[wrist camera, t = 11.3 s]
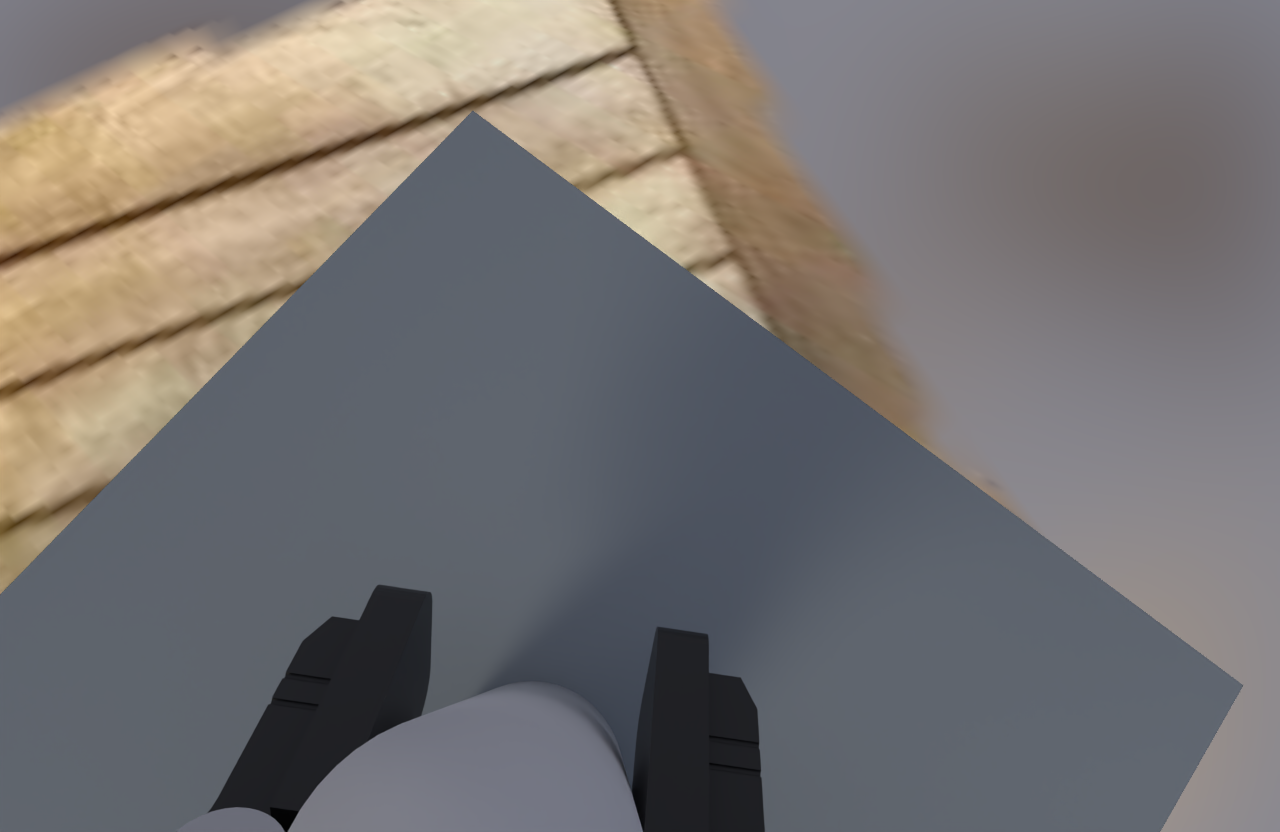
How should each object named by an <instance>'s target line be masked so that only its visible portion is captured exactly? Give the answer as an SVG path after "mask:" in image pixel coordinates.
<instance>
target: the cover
mask: <svg viewBox="0 0 1280 832" xmlns="http://www.w3.org/2000/svg"><path fill="white" fill-rule="evenodd" d="M379 584H380V585H386V586H393V587H400V588H407V589H413V590H420V591H427V592H431V594H432V638H431V669H430V679H429V686H428V691H427V696H426V700H425V704H424V708H423V712H422V715H421V716H420V717H418V718H415V719H412V720H410V721H407V722H404V723H402V724H399V725H397V726H395V727H393V728H391V729H389V730H387V731H385V732H383V733H381V734H379V735H377V736H376V737H374V738H372V739H371V740H369V741H368V742H366V743H365V744H363V745H362V746H360V747H359V748H357V749H356V750H355V751H353V752H352V753H351V754H350V755H349V756H347V757H346V758H345V759H344V760H343V761H341V762H340V763H339V764H338V765H337V766H336V767H335V768H334V769H333V770H332V771H331V772H330V773H329V774H328V775H327V776H326V777H325V778H324V779H323V781H322V782H321V783H320V784H319V785H318V786H317V787H316V789H315V790H314V791H313V793H312V794H311V795H310V797H309V798H308V799H307V801H306V802H305V804H304V805H303V806H302V808H301V809H300V811H299V813H298V815H297V816H296V818H295V820H294V822H293V823H292V825H291V827H290V829H289V830H288V832H643V830H642V827H641V823H640V820H639V816H638V813H637V809H636V805H635V802H634V798H633V795H632V782H633V770H634V758H635V747H636V737H637V729H638V721H639V714H640V708H641V702H642V697H643V692H644V687H645V682H646V677H647V672H648V667H649V661H650V656H651V651H652V646H653V641H654V636H655V632H656V628H657V626H658V627H665V628H671V629H678V630H685V631H692V632H698V633H705V634H708V638H709V673H714V674H721V675H728V676H734V677H741V679H742V681H743V683H744V684H745V686H746V688H747V690H748V692H749V694H750V696H751V698H752V700H753V701H754V703H755V705H756V707H757V710H758V726H759V749H760V759H761V777H762V792H763V808H764V825H765V832H1160V831H1161V829H1162V828H1163V826H1164V824H1165V822H1166V821H1167V819H1168V817H1169V815H1170V814H1171V812H1172V810H1173V808H1174V806H1175V805H1176V803H1177V801H1178V799H1179V798H1180V796H1181V794H1182V792H1183V791H1184V789H1185V787H1186V785H1187V784H1188V782H1189V780H1190V778H1191V777H1192V775H1193V773H1194V771H1195V770H1196V768H1197V766H1198V764H1199V762H1200V760H1201V759H1202V757H1203V755H1204V754H1205V752H1206V750H1207V748H1208V747H1209V745H1210V743H1211V741H1212V740H1213V738H1214V736H1215V734H1216V733H1217V731H1218V729H1219V727H1220V725H1221V724H1222V722H1223V720H1224V718H1225V717H1226V715H1227V713H1228V711H1229V710H1230V708H1231V706H1232V704H1233V703H1234V701H1235V699H1236V697H1237V695H1238V694H1239V692H1240V690H1241V689H1242V687H1243V685H1242V684H1241V683H1239V682H1238V681H1237V680H1235V679H1234V678H1233V677H1231V676H1230V675H1229V674H1227V673H1226V672H1225V671H1223V670H1222V669H1221V668H1219V667H1218V666H1217V665H1215V664H1214V663H1213V662H1211V661H1210V660H1209V659H1207V658H1206V657H1204V656H1203V655H1202V654H1201V653H1199V652H1198V651H1196V650H1195V649H1194V648H1192V647H1191V646H1190V645H1188V644H1187V643H1186V642H1184V641H1183V640H1182V639H1180V638H1179V637H1178V636H1176V635H1175V634H1174V633H1172V632H1171V631H1170V630H1168V629H1167V628H1166V627H1164V626H1163V625H1162V624H1160V623H1159V622H1158V621H1156V620H1155V619H1153V618H1152V617H1151V616H1150V615H1148V614H1147V613H1146V612H1144V611H1143V610H1142V609H1140V608H1139V607H1138V606H1136V605H1135V604H1133V603H1132V602H1131V601H1129V600H1128V599H1127V598H1125V597H1124V596H1123V595H1121V594H1120V593H1119V592H1117V591H1116V590H1115V589H1113V588H1112V587H1111V586H1109V585H1108V584H1107V583H1105V582H1104V581H1103V580H1101V579H1100V578H1098V577H1097V576H1096V575H1095V574H1093V573H1092V572H1091V571H1089V570H1088V569H1086V568H1085V567H1084V566H1083V565H1081V564H1080V563H1078V562H1077V561H1076V560H1074V559H1073V558H1072V557H1070V556H1069V555H1068V554H1066V553H1065V552H1064V551H1062V550H1061V549H1060V548H1058V547H1057V546H1056V545H1054V544H1053V543H1052V542H1050V541H1049V540H1048V539H1046V538H1045V537H1044V536H1042V535H1041V534H1040V533H1038V532H1037V531H1036V530H1034V529H1033V528H1032V527H1030V526H1029V525H1028V524H1026V523H1025V522H1024V521H1022V520H1021V519H1020V518H1018V517H1017V516H1016V515H1014V514H1013V513H1012V512H1010V511H1009V510H1007V509H1006V508H1005V507H1003V506H1002V505H1001V504H999V503H998V502H997V501H995V500H994V499H993V498H991V497H990V496H989V495H987V494H986V493H985V492H983V491H982V490H981V489H979V488H978V487H977V486H975V485H974V484H973V483H971V482H970V481H969V480H967V479H966V478H965V477H963V476H962V475H961V474H959V473H958V472H957V471H955V470H954V469H953V468H951V467H950V466H948V465H947V464H946V463H944V462H943V461H942V460H940V459H939V458H938V457H936V456H935V455H934V454H932V453H931V452H930V451H928V450H927V449H926V448H924V447H923V446H922V445H920V444H919V443H918V442H916V441H915V440H914V439H912V438H911V437H910V436H908V435H907V434H906V433H904V432H903V431H902V430H900V429H899V428H898V427H896V426H895V425H894V424H892V423H891V422H890V421H888V420H887V419H885V418H884V417H883V416H881V415H880V414H879V413H877V412H876V411H875V410H873V409H872V408H871V407H869V406H868V405H867V404H865V403H864V402H863V401H861V400H860V399H859V398H857V397H856V396H855V395H853V394H852V393H851V392H849V391H848V390H847V389H845V388H844V387H843V386H841V385H840V384H839V383H837V382H836V381H835V380H833V379H832V378H831V377H829V376H828V375H827V374H825V373H824V372H822V371H821V370H820V369H818V368H817V367H816V366H814V365H813V364H812V363H810V362H809V361H808V360H806V359H805V358H804V357H802V356H801V355H800V354H798V353H797V352H796V351H794V350H793V349H792V348H790V347H789V346H788V345H786V344H785V343H784V342H782V341H781V340H780V339H778V338H777V337H776V336H774V335H773V334H772V333H770V332H769V331H768V330H766V329H765V328H763V327H762V326H761V325H759V324H758V323H757V322H755V321H754V320H753V319H751V318H750V317H749V316H747V315H746V314H745V313H743V312H742V311H741V310H739V309H738V308H737V307H735V306H734V305H733V304H731V303H730V302H729V301H727V300H726V299H725V298H723V297H722V296H721V295H719V294H718V293H717V292H715V291H714V290H713V289H711V288H710V287H709V286H707V285H706V284H705V283H703V282H702V281H700V280H699V279H698V278H696V277H695V276H694V275H692V274H691V273H690V272H688V271H687V270H686V269H684V268H683V267H682V266H680V265H679V264H678V263H676V262H675V261H674V260H672V259H671V258H670V257H668V256H667V255H666V254H664V253H663V252H662V251H660V250H659V249H658V248H656V247H655V246H654V245H652V244H651V243H650V242H648V241H647V240H646V239H644V238H643V237H642V236H640V235H639V234H637V233H636V232H635V231H633V230H632V229H631V228H629V227H628V226H627V225H625V224H624V223H623V222H621V221H620V220H619V219H617V218H616V217H615V216H613V215H612V214H611V213H609V212H608V211H607V210H605V209H604V208H603V207H601V206H600V205H599V204H597V203H596V202H595V201H593V200H592V199H591V198H589V197H588V196H587V195H585V194H584V193H583V192H581V191H580V190H579V189H577V188H576V187H574V186H573V185H572V184H570V183H569V182H568V181H566V180H565V179H564V178H562V177H561V176H560V175H558V174H557V173H556V172H554V171H553V170H552V169H550V168H549V167H548V166H546V165H545V164H544V163H542V162H541V161H540V160H538V159H537V158H536V157H534V156H533V155H532V154H530V153H529V152H528V151H526V150H525V149H524V148H522V147H521V146H520V145H518V144H517V143H515V142H514V141H513V140H511V139H510V138H509V137H507V136H506V135H505V134H503V133H502V132H501V131H499V130H498V129H497V128H495V127H494V126H493V125H491V124H490V123H489V122H487V121H486V120H485V119H483V118H482V117H481V116H479V115H478V114H477V113H475V112H474V111H472V112H471V113H470V114H469V115H468V116H467V117H466V118H465V119H464V120H463V121H462V122H461V123H460V124H459V125H458V126H457V127H456V128H455V129H454V131H453V132H452V133H451V134H450V135H449V136H448V137H447V138H446V139H445V140H444V141H443V142H442V143H441V144H440V145H439V146H438V147H437V148H436V149H435V150H434V151H433V152H432V153H431V154H430V155H429V156H428V157H427V158H426V159H425V160H424V161H423V162H422V163H421V164H420V165H419V166H418V167H417V168H416V169H415V170H414V171H413V172H412V174H411V175H410V176H409V177H408V178H407V179H406V180H405V181H404V182H403V183H402V184H401V185H400V186H399V187H398V188H397V189H396V190H395V191H394V192H393V193H392V194H391V195H390V196H389V197H388V198H387V199H386V200H385V201H384V202H383V203H382V204H381V205H380V206H379V207H378V208H377V209H376V210H375V211H374V212H373V213H372V214H371V216H370V217H369V218H368V219H367V220H366V221H365V222H364V223H363V224H362V225H361V226H360V227H359V228H358V229H357V230H356V231H355V232H354V233H353V234H352V235H351V236H350V237H349V238H348V239H347V240H346V241H345V242H344V243H343V244H342V245H341V246H340V247H339V248H338V249H337V250H336V251H335V252H334V253H333V254H332V255H331V256H330V257H329V259H328V260H327V261H326V262H325V263H324V264H323V265H322V266H321V267H320V268H319V269H318V270H317V271H316V272H315V273H314V274H313V275H312V276H311V277H310V278H309V279H308V280H307V281H306V282H305V283H304V284H303V285H302V286H301V287H300V288H299V289H298V290H297V291H296V292H295V293H294V294H293V295H292V296H291V297H290V298H289V299H288V300H287V302H286V303H285V304H284V305H283V306H282V307H281V308H280V309H279V310H278V311H277V312H276V313H275V314H274V315H273V316H272V317H271V318H270V319H269V320H268V321H267V322H266V323H265V324H264V325H263V326H262V327H261V328H260V329H259V330H258V331H257V332H256V333H255V334H254V335H253V336H252V337H251V338H250V339H249V340H248V341H247V342H246V344H245V345H244V346H243V347H242V348H241V349H240V350H239V351H238V352H237V353H236V354H235V355H234V356H233V357H232V358H231V359H230V360H229V361H228V362H227V363H226V364H225V365H224V366H223V367H222V368H221V369H220V370H219V371H218V372H217V373H216V374H215V375H214V376H213V377H212V378H211V379H210V380H209V381H208V382H207V383H206V384H205V385H204V387H203V388H202V389H201V390H200V391H199V392H198V393H197V394H196V395H195V396H194V397H193V398H192V399H191V400H190V401H189V402H188V403H187V404H186V405H185V406H184V407H183V408H182V409H181V410H180V411H179V412H178V413H177V414H176V415H175V416H174V417H173V418H172V419H171V420H170V421H169V422H168V423H167V424H166V425H165V426H164V427H163V428H162V430H161V431H160V432H159V433H158V434H157V435H156V436H155V437H154V438H153V439H152V440H151V441H150V442H149V443H148V444H147V445H146V446H145V447H144V448H143V449H142V450H141V451H140V452H139V453H138V454H137V455H136V456H135V457H134V458H133V459H132V460H131V461H130V462H129V463H128V464H127V465H126V466H125V467H124V468H123V469H122V470H121V471H120V473H119V474H118V475H117V476H116V477H115V478H114V479H113V480H112V481H111V482H110V483H109V484H108V485H107V486H106V487H105V488H104V489H103V490H102V491H101V492H100V493H99V494H98V495H97V496H96V497H95V498H94V499H93V500H92V501H91V502H90V503H89V504H88V505H87V506H86V507H85V508H84V509H83V510H82V511H81V512H80V513H79V515H78V516H77V517H76V518H75V519H74V520H73V521H72V522H71V523H70V524H69V525H68V526H67V527H66V528H65V529H64V530H63V531H62V532H61V533H60V534H59V535H58V536H57V537H56V538H55V539H54V540H53V541H52V542H51V543H50V544H49V545H48V546H47V547H46V548H45V549H44V550H43V551H42V552H41V553H40V554H39V555H38V556H37V558H36V559H35V560H34V561H33V562H32V563H31V564H30V565H29V566H28V567H27V568H26V569H25V570H24V571H23V572H22V573H21V574H20V575H19V576H18V577H17V578H16V579H15V580H14V581H13V582H12V583H11V584H10V585H9V586H8V587H7V588H6V589H5V590H4V591H3V592H2V593H1V594H0V832H176V831H177V830H178V829H180V828H181V827H182V826H184V825H185V824H187V823H188V822H190V821H192V820H194V819H195V818H197V817H199V816H201V815H204V814H207V813H208V811H209V810H210V809H211V808H212V806H213V804H214V803H215V801H216V800H217V798H218V796H219V794H220V793H221V791H222V789H223V787H224V785H225V783H226V782H227V780H228V778H229V776H230V774H231V772H232V770H233V769H234V767H235V765H236V763H237V761H238V759H239V757H240V756H241V754H242V752H243V750H244V748H245V746H246V745H247V743H248V741H249V739H250V737H251V735H252V733H253V732H254V730H255V728H256V726H257V724H258V722H259V720H260V719H261V717H262V715H263V713H264V711H265V709H266V708H267V706H268V704H271V701H272V696H273V695H274V693H275V691H276V689H277V687H278V685H279V683H280V682H281V680H282V678H285V674H286V671H287V669H288V667H289V665H290V663H291V661H292V659H293V658H294V656H295V654H296V652H297V650H298V648H299V646H300V645H301V643H302V641H303V640H304V639H305V638H307V637H308V636H309V635H310V634H311V633H313V632H314V631H315V630H316V629H317V628H319V627H320V626H321V625H322V624H323V623H325V622H326V621H327V620H328V619H329V618H331V617H332V616H334V617H341V618H348V619H354V620H359V619H360V617H361V615H362V613H363V611H364V609H365V607H366V605H367V603H368V601H369V599H370V596H371V594H372V592H373V591H374V589H375V588H376V586H377V585H379Z"/></svg>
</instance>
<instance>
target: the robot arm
mask: <svg viewBox="0 0 1280 832" xmlns="http://www.w3.org/2000/svg"><path fill="white" fill-rule="evenodd" d="M431 638H432V594H431V592H427V591H420V590H413V589H407V588H400V587H393V586H386V585H380V584H379V585H377V586H376V588H375V589H374V591H373V592H372V594H371V596H370V599H369V601H368V603H367V605H366V607H365V609H364V611H363V613H362V615H361V617H360V619H359V620H354V619H348V618H341V617H334V616H332V617H331V618H329V619H328V620H327V621H326V622H325V623H323V624H322V625H321V626H320V627H319V628H317V629H316V630H315V631H314V632H313V633H311V634H310V635H309V636H308V637H307V638H305V639H304V640H303V641H302V643H301V645H300V646H299V648H298V650H297V652H296V654H295V656H294V658H293V659H292V661H291V663H290V665H289V667H288V669H287V671H286V674H285V678H282V680H281V682H280V683H279V685H278V687H277V689H276V691H275V693H274V695H273V696H272V701H271V704H268V706H267V708H266V709H265V711H264V713H263V715H262V717H261V719H260V720H259V722H258V724H257V726H256V728H255V730H254V732H253V733H252V735H251V737H250V739H249V741H248V743H247V745H246V746H245V748H244V750H243V752H242V754H241V756H240V757H239V759H238V761H237V763H236V765H235V767H234V769H233V770H232V772H231V774H230V776H229V778H228V780H227V782H226V783H225V785H224V787H223V789H222V791H221V793H220V794H219V796H218V798H217V800H216V801H215V803H214V804H213V806H212V808H211V809H210V810H209V811H208V813H207V814H204V815H201V816H199V817H197V818H195V819H194V820H192V821H190V822H188V823H187V824H185V825H184V826H182V827H181V828H180V829H178V830H177V831H176V832H288V830H289V829H290V827H291V825H292V823H293V822H294V820H295V818H296V816H297V815H298V813H299V811H300V809H301V808H302V806H303V805H304V804H305V802H306V801H307V799H308V798H309V797H310V795H311V794H312V793H313V791H314V790H315V789H316V787H317V786H318V785H319V784H320V783H321V782H322V781H323V779H324V778H325V777H326V776H327V775H328V774H329V773H330V772H331V771H332V770H333V769H334V768H335V767H336V766H337V765H338V764H339V763H340V762H341V761H343V760H344V759H345V758H346V757H347V756H349V755H350V754H351V753H352V752H353V751H355V750H356V749H357V748H359V747H360V746H362V745H363V744H365V743H366V742H368V741H369V740H371V739H372V738H374V737H376V736H377V735H379V734H381V733H383V732H385V731H387V730H389V729H391V728H393V727H395V726H397V725H399V724H402V723H404V722H407V721H410V720H412V719H415V718H418V717H420V716H421V715H422V712H423V708H424V704H425V700H426V696H427V691H428V686H429V679H430V669H431ZM632 795H633V798H634V802H635V805H636V809H637V813H638V816H639V820H640V823H641V827H642V830H643V832H765V825H764V808H763V792H762V777H761V759H760V749H759V726H758V710H757V707H756V705H755V703H754V701H753V700H752V698H751V696H750V694H749V692H748V690H747V688H746V686H745V684H744V683H743V681H742V679H741V677H734V676H728V675H721V674H714V673H709V638H708V634H705V633H698V632H692V631H685V630H678V629H671V628H665V627H658V626H657V628H656V632H655V636H654V641H653V646H652V651H651V656H650V661H649V667H648V672H647V677H646V682H645V687H644V692H643V697H642V702H641V708H640V714H639V721H638V729H637V737H636V747H635V758H634V770H633V782H632Z"/></svg>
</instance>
